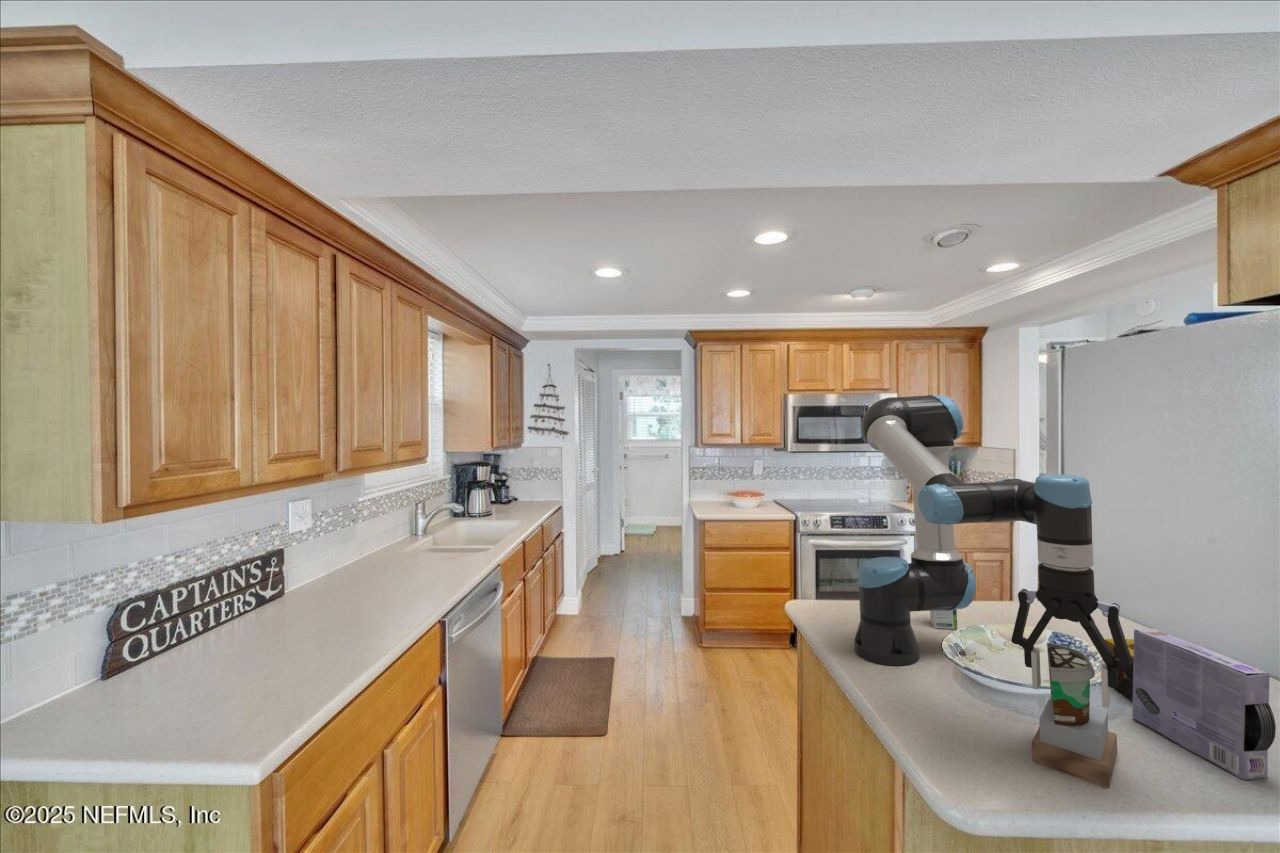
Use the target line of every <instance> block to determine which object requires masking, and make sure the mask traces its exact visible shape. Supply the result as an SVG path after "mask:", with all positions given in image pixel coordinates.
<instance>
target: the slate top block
mask: <svg viewBox="0 0 1280 853" xmlns="http://www.w3.org/2000/svg"><path fill="white" fill-rule="evenodd" d="M1038 719H1039V721H1038V722H1039V726H1040V742H1043V743H1046V744H1049V745H1052V746H1056V747H1059V748H1062V749H1065V750H1068V751H1071V752H1074V753H1077V754H1080V755H1083V756H1086V757H1090V758H1093V759H1096V760H1099V761H1101V759H1102V756H1103V752H1104V748H1105V744H1106V741H1107V737H1108V731H1109V723H1108V722H1109V716H1108V711H1107V710H1104V709H1100V708H1096V707H1093V706H1090V711H1089V721H1088V723H1086V724H1084V725H1079V726H1063V725H1057V724H1054V716H1053V708H1052V700H1051V695H1050V696H1049V699H1048V700H1047V702H1046V704H1045V706H1044V709H1043V710H1042V712H1041V714H1040V716H1039V718H1038Z"/></svg>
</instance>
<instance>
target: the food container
mask: <svg viewBox="0 0 1280 853" xmlns="http://www.w3.org/2000/svg"><path fill="white" fill-rule="evenodd" d="M1046 648H1047V658H1048V660H1047V662H1048V673H1049V674H1048V675H1049V687H1050V696H1051V700H1052V708H1053V716H1054V724H1057V725H1063V726H1079V725H1084V724H1086V723H1088V721H1089V711H1090V707H1091V706H1090V703H1091V701H1090V700H1091V699H1090V693H1091V691H1090V689H1091V680H1092V679H1093V678H1094V677H1095V675H1096V672H1095V669H1094V666H1093V664H1092V662H1091V661H1090V658H1089V657H1088V656H1087V655H1086V654H1085V653H1083V652H1080V651H1079V650H1076V649H1074V648H1072V647H1069V646H1066V645H1062V644H1057V643H1052V642H1046Z"/></svg>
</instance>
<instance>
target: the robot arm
mask: <svg viewBox="0 0 1280 853" xmlns="http://www.w3.org/2000/svg"><path fill="white" fill-rule="evenodd" d="M860 424H861V426H860V428H861V429H860V430H861V434H862V435H863V438H864V441H865V442H866V443H867V444H868V445H869V446H870V447H871V448H872V449H874V450H876V451H879V452H881V453H882V454H883V455H884V456H885V457H886V459H888V460H889V461H890V463H891V464H892V465H893V467H895V468H896V469H897V470H898V472H900V474H901V475H902V476H903V477H904V478H905V479H906V480H907V482H908V483H909V484H910V485H911V486H912V490H911V491H912V499H913V500H912V501H913V515H914V528H915V540H916V541H915V544H916V547H915V549H914V550H913V551H912V552H911V553H910V561H911V562H909V563H908V561H907V560H906V559H905V558H902V557H898V556H879V557H874V558H869V559H866V560H865V561H863V562H862V563H860V565H859V567H858V578H857V584H858V595H859V596H858V597H859V614H860V615H859V619H860V621H859V623H858V626H857V630H856V633H855V635H854V640H853V642H854V643H853V644H854V645H853V646H854V648H853V649H854V651H855V653H856V654H857V655H858V656H859V657H861V658H862V659H864V660H867V661H869V662H873V663H875V662H876V664H879V663H880V665H884V666H885V665H886V666H887V665H888V666H907V665H908V666H909V665H912V664H915V663H916V662H918V661H919V660H920V658H921V650H920V646H919V645H920V644H919V643H918V641H917V640H918V639H917V637H916V635H915V632H914V629H913V627H912V624H911V612H930V611H935V610H946V611H951V610H954V609H957V610H962V609H965V608H967V607H968V608H969V606H970V604H972V603H973V601H974V600H975V596H976V593H977V592H976V590H977V580H976V575H975V574H974V569H972V568H973V567H971V565H970V564H969V563H967V562H966V561H964V558H963V555H962V554H961V553H960V552H958V551H957V549H956V542H955V531H954V530H955V529H954V525H958V524H976V523H998V522H1024V523H1025V522H1026V523H1029V524H1032V525H1036V537H1037V538H1036V540H1037V543H1036V544H1037V560H1038V561H1039V564H1038V568H1037V569H1038V589H1037V590H1028V589H1026V588H1022V589H1021V590H1019V592H1018V593H1017V598H1018V599H1017V600H1018V603H1019V604H1018V605H1019V606H1018V610H1017V613H1016V614H1017V615H1016V618H1015V623H1014V627H1013V631H1012V635H1011V643H1012V644H1014V645H1018V646H1020V647H1022V649H1023V654H1024V657H1023V658H1024V666H1025V667H1026V668H1028V669H1031V682H1032V684H1031V686H1032V690H1033V689H1034V690H1039V688H1040V687H1041V684H1042V678H1041V675H1042V674H1041V655H1040V654H1041V653H1040V652H1041V650H1040V648H1039V647H1036V646H1035V644H1036V642H1037V641H1038V640H1039V638H1040V636H1041V635H1042V634H1043V632H1044V631H1045V629H1046V627H1047V626H1048V625H1049V623H1050V621H1051V620H1052V619H1053V617H1054V619H1058V620H1067V621H1070V622H1072V623H1079V624H1080V626H1081V627H1082V629H1083V630H1084V631H1085V632H1086V634H1087V635H1088V637H1089V639H1090V641H1091V643H1092V644H1093V646H1094V647H1095V649H1096V651H1097V653H1098V654H1099V656H1100V657H1101V659H1102V660H1103V662H1102V664H1101V667H1100V674H1101V676H1100V678H1101V680H1100V681H1101V701H1102V705H1101V706H1102V707H1101V708H1104V709H1109V708H1110V704H1111V688H1112V689H1114V688H1115V689H1114V690H1116V688H1117V686H1118V669H1120V668H1125V669H1130V668H1131V665H1132V658H1131V655H1130V652H1129V649H1128V646H1127V643H1126V640H1125V639H1126V637H1125V633H1124V630H1123V628H1122V625H1121V621H1120V617H1119V616H1120V610H1121V607H1120V605H1119V604H1118V603H1115V602H1113V603H1111V604H1110V603H1108V602H1105V601H1099V599H1098V598H1097V596H1096V593H1095V573H1094V572H1095V571H1094V570H1093V568H1091V567H1093V566H1094V547H1093V546H1094V545H1093V544H1094V543H1093V521H1092V520H1093V517H1092V504H1093V500H1092V497H1091V488H1090V483H1089V480H1088V479H1087V478H1085V477H1083V476H1080V475H1073V474H1071V475H1070V474H1043V475H1038V476H1036V478H1035V480H1034V481H1028V480H1027V481H1026V480H1022V479H1021V478H1020V479H1019V478H1001V479H999V480H996V481H988V482H987V481H986V482H967V483H966V482H964V481H963V480H962V479H961V478H959V477H958V476H957V475H955V473H953V472H952V471H951V470H950V468H949V466H950V465H949V464H950V463H949V453H950V452H951V451H952V450H953V449H954V448H955V443H954V441H956V440H957V439H959V438H960V437H961V436H962V435H963V432H962V431H963V430H964V418H963V414H962V411H961V409H960V407H959V405H958V404H957V403H956V402H955V401H954V399H953V398H951V397H949V396H946V395H942V394H941V395H937V394H936V395H934V394H928V395H912V396H897V397H896V396H893V397H892V396H891V397H886V398H882V399H879V400H877V401H876V402H874V403H873V404H871V406H869V407H868V408H867V410H866V411H865V413H864V415H863V416H862V420H861V423H860ZM1035 599H1036V600H1038V601H1039V602H1040V603H1041V605H1042V606H1043V608H1044V609H1045V611H1044V613H1043V614H1042V615H1041V617H1040V619H1039V620H1038V621H1037V623H1036V625H1035V627H1034V628H1033V630H1032V631H1031V633H1030V634H1029V636H1028V637H1027V638H1026V637H1024V633H1025V632H1024V631H1025V628H1026V625H1027V620H1028V616H1029V612H1030V608H1031V604H1033V603H1034V602H1035ZM1097 609H1099V611H1101V614H1102V616H1103V617H1105V618H1107V624H1108V628H1109V630H1110V634H1111V639H1113V641H1114V644H1115V647H1116V650H1117V654H1118V657H1119V658H1116V657H1115V656H1114V654H1113V652H1112V651H1111V649H1110V648H1109V646H1108V644H1107V643H1106V641H1105V639H1106V638H1104V636H1103V635H1102V632H1101V631H1100V630H1099V627H1098V626H1097V624H1096V622H1095V620H1094V618H1093V617H1092V615H1091V614H1093V613H1094V611H1095V610H1097ZM1034 646H1035V647H1034Z"/></svg>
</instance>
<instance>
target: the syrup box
mask: <svg viewBox="0 0 1280 853" xmlns="http://www.w3.org/2000/svg"><path fill="white" fill-rule="evenodd" d="M957 610H958V609H954V610H951V611H946V610H935V611H929V616H930V617H929V619H930V622H931V624H932V626H933V627H934V629H936V630H937V629H943V630H944V629H947V630H956V629H957V630H958V614H957V613H958V612H957Z"/></svg>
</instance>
